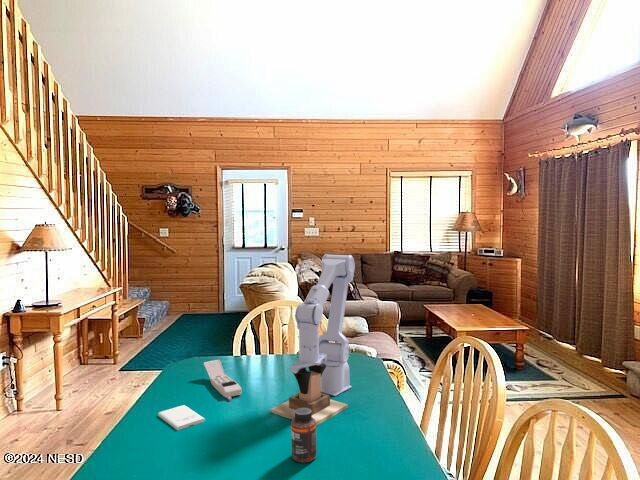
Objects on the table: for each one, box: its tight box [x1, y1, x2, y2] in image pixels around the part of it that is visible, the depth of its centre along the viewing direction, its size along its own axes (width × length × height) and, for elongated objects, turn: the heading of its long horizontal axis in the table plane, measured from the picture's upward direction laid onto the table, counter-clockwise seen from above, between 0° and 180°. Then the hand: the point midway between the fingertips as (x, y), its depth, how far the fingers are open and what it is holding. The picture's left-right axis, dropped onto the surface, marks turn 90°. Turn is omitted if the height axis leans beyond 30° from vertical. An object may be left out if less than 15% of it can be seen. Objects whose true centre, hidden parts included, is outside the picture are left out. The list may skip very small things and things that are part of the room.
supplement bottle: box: [290, 408, 318, 463], centre depth 114 cm, size 6×6×11 cm
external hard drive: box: [157, 404, 206, 431], centre depth 136 cm, size 2×8×12 cm
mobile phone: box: [203, 359, 243, 401], centre depth 160 cm, size 6×6×25 cm
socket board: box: [270, 392, 349, 427], centre depth 141 cm, size 16×16×4 cm
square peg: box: [298, 370, 322, 403], centre depth 141 cm, size 4×4×8 cm
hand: (309, 390), depth 141 cm, fingers closed on square peg, 4 cm apart
